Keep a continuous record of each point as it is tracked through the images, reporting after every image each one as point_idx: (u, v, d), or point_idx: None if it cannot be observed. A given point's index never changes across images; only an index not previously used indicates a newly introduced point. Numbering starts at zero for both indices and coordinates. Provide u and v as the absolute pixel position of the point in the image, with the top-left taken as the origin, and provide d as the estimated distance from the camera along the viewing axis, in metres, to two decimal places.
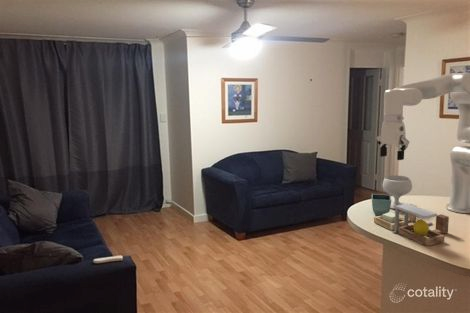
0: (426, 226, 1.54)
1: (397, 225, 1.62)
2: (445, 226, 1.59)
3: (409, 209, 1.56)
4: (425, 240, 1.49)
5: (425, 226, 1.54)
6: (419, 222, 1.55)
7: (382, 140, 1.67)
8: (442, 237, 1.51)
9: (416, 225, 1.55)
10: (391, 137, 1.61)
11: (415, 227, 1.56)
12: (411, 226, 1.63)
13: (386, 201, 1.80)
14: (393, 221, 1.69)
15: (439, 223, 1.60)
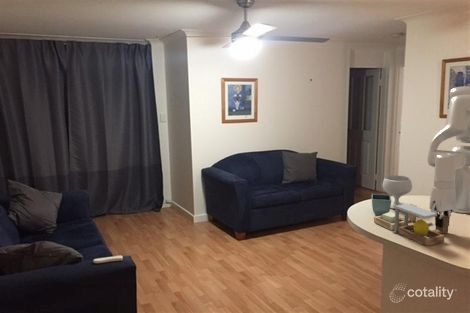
0: (426, 226, 1.54)
1: (397, 225, 1.62)
2: (445, 226, 1.59)
3: (409, 209, 1.56)
4: (425, 240, 1.49)
5: (424, 226, 1.54)
6: (419, 222, 1.55)
7: (441, 208, 1.56)
8: (442, 237, 1.51)
9: (416, 225, 1.55)
10: (451, 202, 1.58)
11: (415, 227, 1.56)
12: (411, 226, 1.63)
13: (386, 201, 1.80)
14: (393, 221, 1.69)
15: None
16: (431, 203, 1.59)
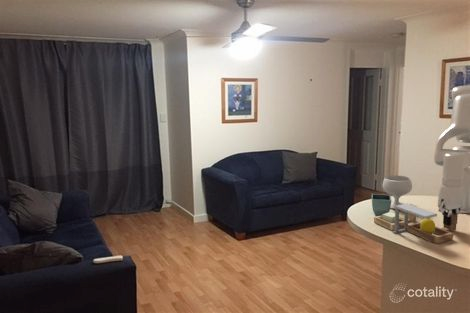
0: (433, 224, 1.55)
1: (397, 225, 1.62)
2: (453, 224, 1.61)
3: (409, 209, 1.56)
4: (434, 238, 1.51)
5: (431, 224, 1.55)
6: (426, 220, 1.56)
7: (449, 207, 1.58)
8: (451, 235, 1.53)
9: (423, 223, 1.57)
10: (459, 200, 1.59)
11: (422, 225, 1.57)
12: (419, 224, 1.65)
13: (386, 201, 1.80)
14: (393, 221, 1.69)
15: None
16: (439, 201, 1.60)
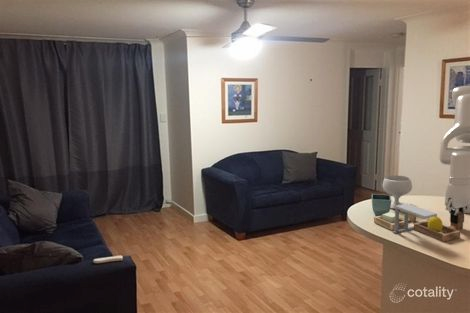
0: (440, 223, 1.57)
1: (397, 225, 1.62)
2: (460, 222, 1.62)
3: (409, 209, 1.56)
4: (441, 236, 1.53)
5: (439, 223, 1.57)
6: (433, 219, 1.58)
7: (456, 205, 1.59)
8: (458, 233, 1.54)
9: (430, 222, 1.58)
10: (466, 199, 1.61)
11: (429, 224, 1.59)
12: (426, 222, 1.67)
13: (386, 201, 1.80)
14: (393, 221, 1.69)
15: None
16: (446, 200, 1.62)
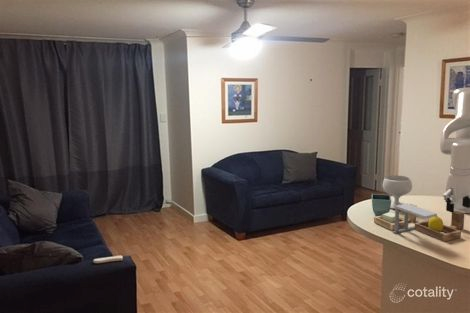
0: (441, 222, 1.57)
1: (397, 225, 1.62)
2: (461, 222, 1.63)
3: (409, 209, 1.56)
4: (442, 236, 1.53)
5: (439, 222, 1.57)
6: (434, 218, 1.58)
7: (457, 195, 1.59)
8: (459, 233, 1.55)
9: (431, 221, 1.58)
10: (467, 189, 1.61)
11: (430, 223, 1.59)
12: (427, 222, 1.67)
13: (386, 201, 1.80)
14: (393, 221, 1.69)
15: (455, 219, 1.64)
16: (447, 190, 1.62)
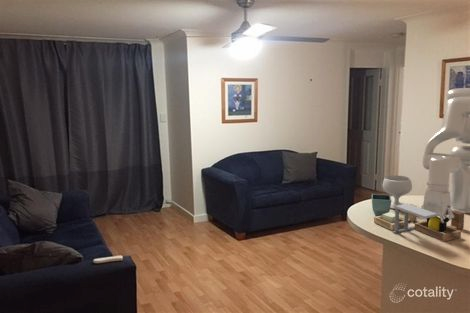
0: None
1: (397, 225, 1.62)
2: (461, 222, 1.63)
3: (409, 209, 1.56)
4: (442, 236, 1.53)
5: (439, 222, 1.57)
6: (434, 218, 1.58)
7: None
8: (459, 233, 1.55)
9: (431, 221, 1.58)
10: None
11: (430, 223, 1.59)
12: None
13: (386, 201, 1.80)
14: (393, 221, 1.69)
15: (455, 219, 1.64)
16: (445, 209, 1.53)
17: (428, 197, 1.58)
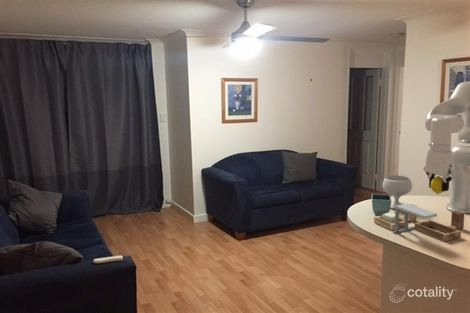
0: None
1: (397, 225, 1.62)
2: (461, 222, 1.63)
3: (409, 209, 1.56)
4: (442, 236, 1.53)
5: None
6: (436, 179, 1.60)
7: None
8: (459, 233, 1.55)
9: (433, 182, 1.60)
10: None
11: (432, 184, 1.60)
12: (427, 222, 1.67)
13: (386, 201, 1.80)
14: (393, 221, 1.69)
15: (455, 219, 1.64)
16: (447, 168, 1.54)
17: (430, 157, 1.60)
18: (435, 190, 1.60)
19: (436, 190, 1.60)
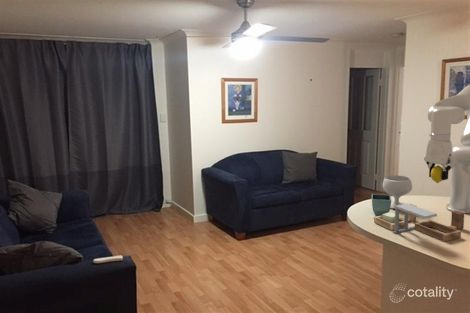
0: None
1: (397, 225, 1.62)
2: (461, 222, 1.63)
3: (409, 209, 1.56)
4: (442, 236, 1.53)
5: (441, 171, 1.64)
6: (436, 168, 1.65)
7: None
8: (459, 233, 1.55)
9: (433, 171, 1.66)
10: None
11: (432, 173, 1.66)
12: (427, 222, 1.67)
13: (386, 201, 1.80)
14: (393, 221, 1.69)
15: (455, 219, 1.64)
16: (447, 157, 1.60)
17: (430, 147, 1.66)
18: (435, 179, 1.66)
19: (436, 179, 1.65)
